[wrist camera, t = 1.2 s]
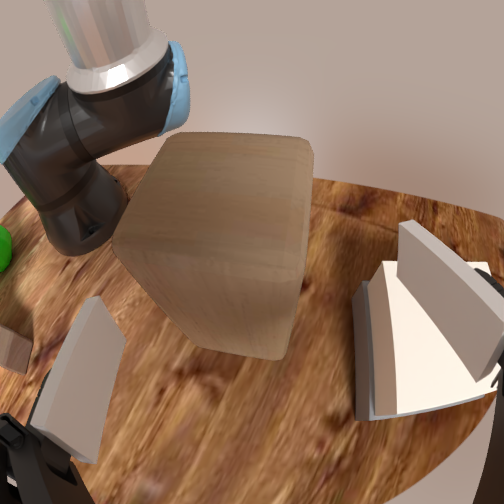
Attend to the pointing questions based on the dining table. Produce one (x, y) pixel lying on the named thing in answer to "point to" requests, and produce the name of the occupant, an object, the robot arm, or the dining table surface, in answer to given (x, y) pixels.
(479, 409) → the dining table surface
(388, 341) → the tower top
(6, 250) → the plastic bottle
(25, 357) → the decorative block
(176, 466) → the dining table surface
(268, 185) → the wooden block
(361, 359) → the tower base
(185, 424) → the dining table surface
